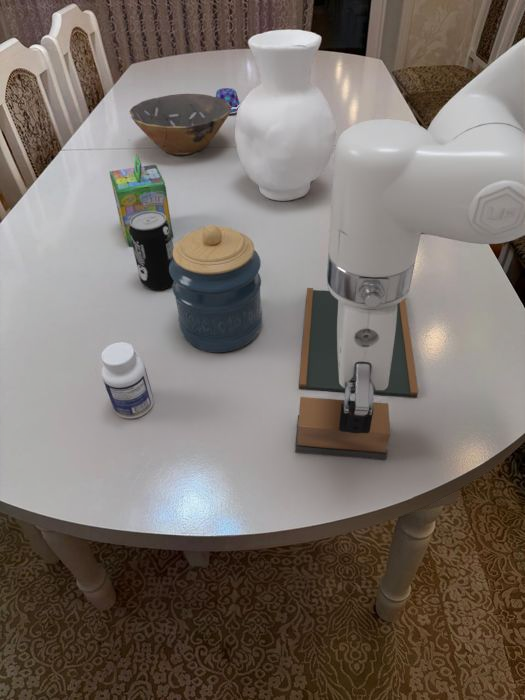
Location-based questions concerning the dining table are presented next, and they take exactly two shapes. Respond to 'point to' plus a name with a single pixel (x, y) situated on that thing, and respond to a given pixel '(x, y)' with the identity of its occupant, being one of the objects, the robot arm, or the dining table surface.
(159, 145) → the bowl
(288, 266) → the dining table surface
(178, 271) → the canister
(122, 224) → the chalk box
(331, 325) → the board
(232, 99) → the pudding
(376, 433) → the eraser
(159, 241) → the beverage can
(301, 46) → the vase
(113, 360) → the pill bottle
